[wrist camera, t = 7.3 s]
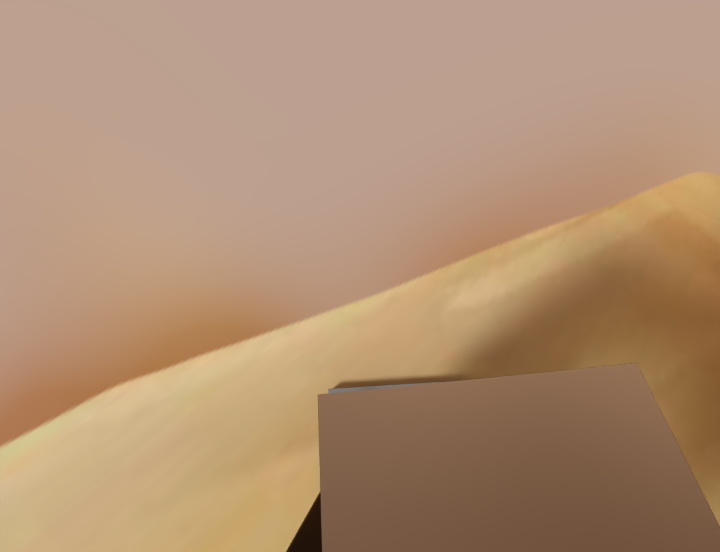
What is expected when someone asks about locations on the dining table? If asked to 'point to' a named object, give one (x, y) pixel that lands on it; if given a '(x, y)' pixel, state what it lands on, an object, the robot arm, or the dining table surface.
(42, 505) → the dining table surface
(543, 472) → the wooden block
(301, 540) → the robot arm
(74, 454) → the dining table surface
